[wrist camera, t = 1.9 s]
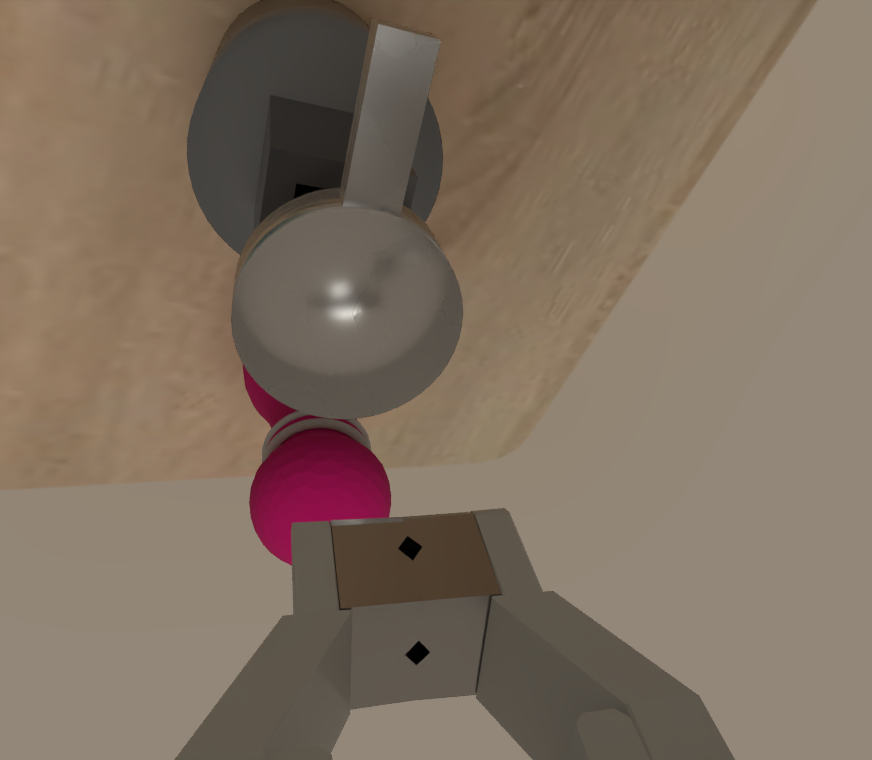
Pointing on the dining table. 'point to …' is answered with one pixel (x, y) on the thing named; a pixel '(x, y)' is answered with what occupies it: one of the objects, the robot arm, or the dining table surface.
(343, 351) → the pump head
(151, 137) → the dining table surface
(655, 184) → the dining table surface
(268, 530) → the pepper mill
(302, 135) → the dispenser
